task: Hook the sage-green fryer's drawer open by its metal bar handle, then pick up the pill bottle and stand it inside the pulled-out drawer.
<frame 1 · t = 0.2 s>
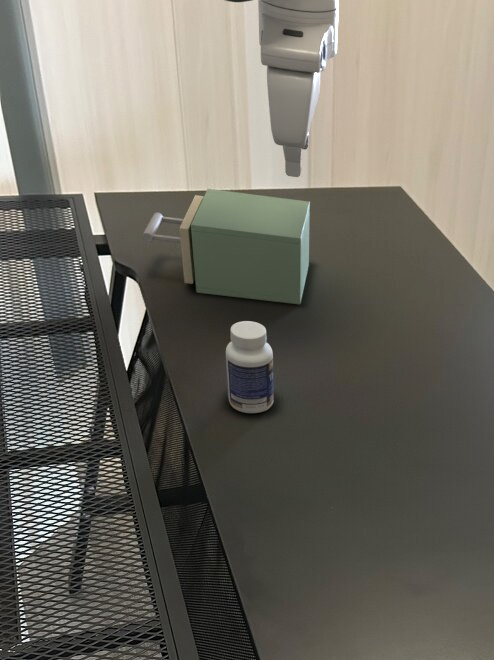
hand: (297, 160, 106), 20 cm above the table, tool pointing down, fingers open, 8 cm apart
pill bottle: (251, 403, 104), on the table
fryer: (254, 278, 126), on the table
drawer: (217, 241, 122), point 5 cm above the table, slide at 0.5 cm
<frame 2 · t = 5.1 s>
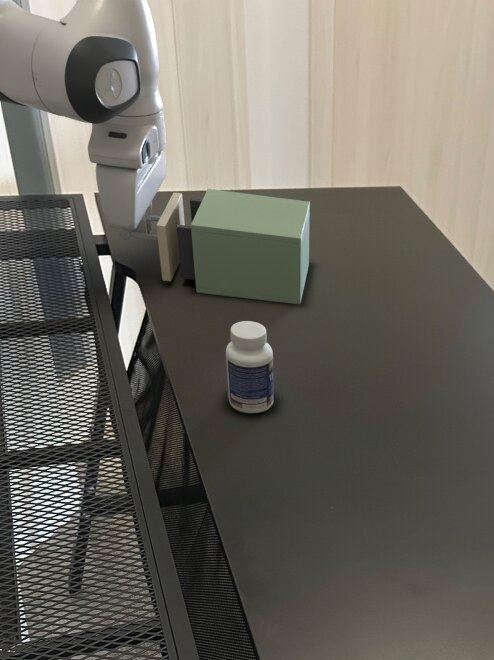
hand: (143, 234, 121), 5 cm above the table, tool pointing down, fingers closed, pressing on drawer
drawer: (196, 239, 121), point 5 cm above the table, slide at 3.5 cm, touching gripper
everything else where it was.
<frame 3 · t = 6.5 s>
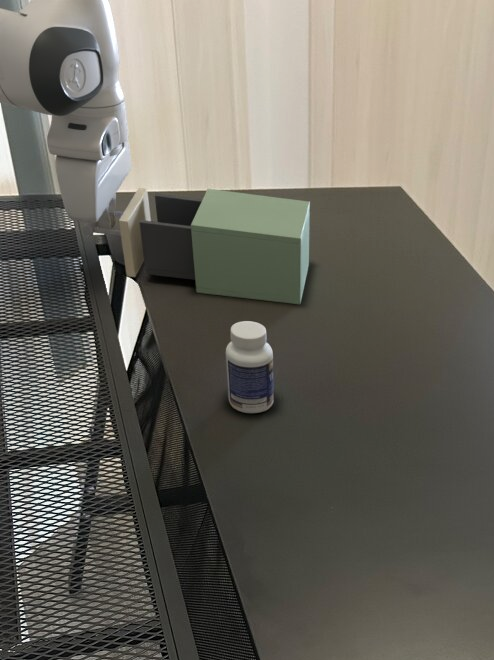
hand: (107, 228, 120), 5 cm above the table, tool pointing down, fingers closed
drawer: (160, 235, 121), point 5 cm above the table, slide at 8.4 cm, touching gripper
everything else where it was.
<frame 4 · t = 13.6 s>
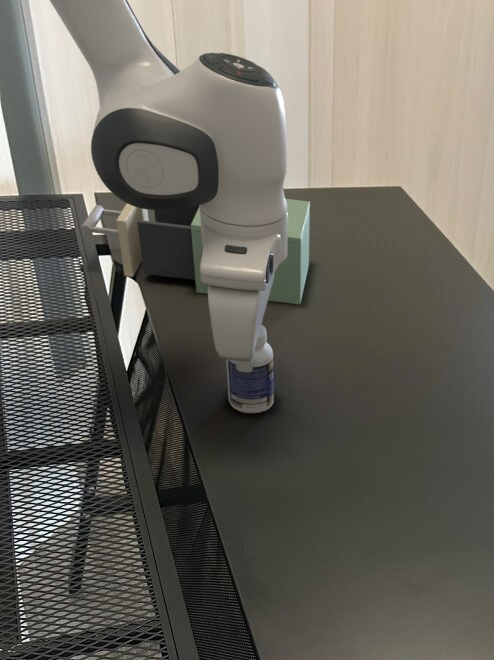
hand: (249, 353, 99), 7 cm above the table, tool pointing down, fingers closed on pill bottle, 5 cm apart
pill bottle: (251, 403, 104), on the table, touching gripper
drawer: (158, 234, 121), point 5 cm above the table, slide at 8.7 cm
when the fingers open (10 cm above the table, at t = 22.5 s): pill bottle drops 7 cm, resting on drawer, fryer.
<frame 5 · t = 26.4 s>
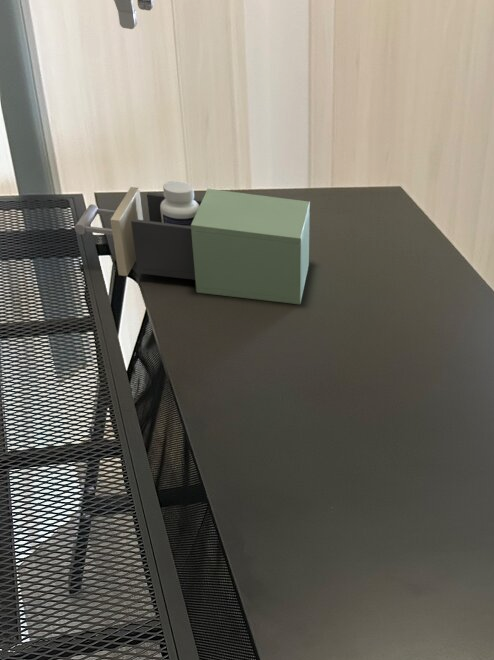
hand: (137, 17, 109), 29 cm above the table, tool pointing down, fingers open, 8 cm apart
pill bottle: (185, 257, 124), point 2 cm above the table, touching drawer, fryer
drawer: (153, 234, 121), point 5 cm above the table, slide at 9.5 cm, touching pill bottle
at the end: drawer slide at 9.5 cm; pill bottle inside the target area in the drawer (1.0 cm from its centre), point 1.8 cm above the fryer's base; pill bottle tilted 0° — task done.
